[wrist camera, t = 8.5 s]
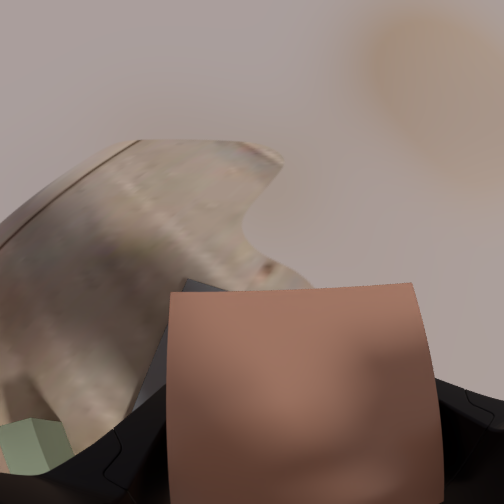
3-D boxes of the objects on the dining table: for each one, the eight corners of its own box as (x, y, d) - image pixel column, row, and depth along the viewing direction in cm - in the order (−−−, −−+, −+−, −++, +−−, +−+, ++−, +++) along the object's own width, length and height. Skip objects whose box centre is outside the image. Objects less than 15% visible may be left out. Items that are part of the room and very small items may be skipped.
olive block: (82, 471, 13) (53, 477, 10) (45, 478, 12) (14, 482, 8) (62, 422, 15) (30, 417, 11) (27, 431, 14) (-5, 427, 10)
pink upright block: (326, 465, 12) (443, 501, 4) (212, 475, 12) (176, 551, 3) (317, 364, 15) (411, 282, 7) (207, 370, 15) (170, 292, 6)
